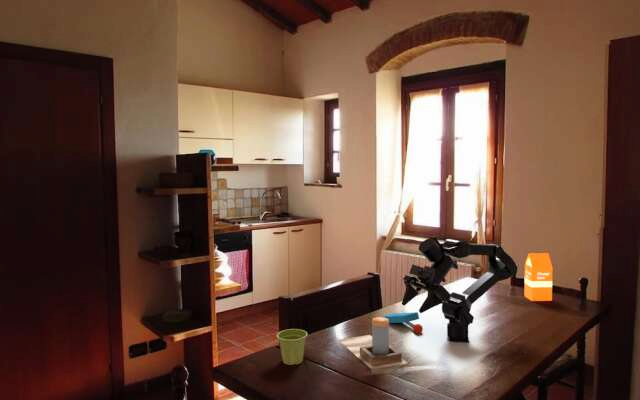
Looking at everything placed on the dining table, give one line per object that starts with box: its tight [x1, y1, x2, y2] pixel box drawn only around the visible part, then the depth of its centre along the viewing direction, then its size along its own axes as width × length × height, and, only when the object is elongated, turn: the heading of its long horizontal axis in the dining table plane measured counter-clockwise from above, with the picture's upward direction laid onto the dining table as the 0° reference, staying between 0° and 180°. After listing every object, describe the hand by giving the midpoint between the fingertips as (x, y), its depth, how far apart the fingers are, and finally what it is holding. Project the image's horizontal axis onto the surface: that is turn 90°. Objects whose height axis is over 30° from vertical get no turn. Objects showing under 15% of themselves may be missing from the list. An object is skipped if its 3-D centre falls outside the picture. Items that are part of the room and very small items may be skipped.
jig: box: [337, 334, 409, 374], centre depth 153 cm, size 26×12×4 cm, turn 20°
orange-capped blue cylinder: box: [371, 316, 390, 356], centre depth 147 cm, size 5×5×12 cm
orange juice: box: [524, 252, 553, 302], centre depth 211 cm, size 8×9×20 cm
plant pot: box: [276, 328, 308, 366], centre depth 148 cm, size 9×9×9 cm
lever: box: [379, 311, 424, 334], centre depth 178 cm, size 7×7×18 cm
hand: (411, 308), depth 155 cm, fingers open, 9 cm apart
